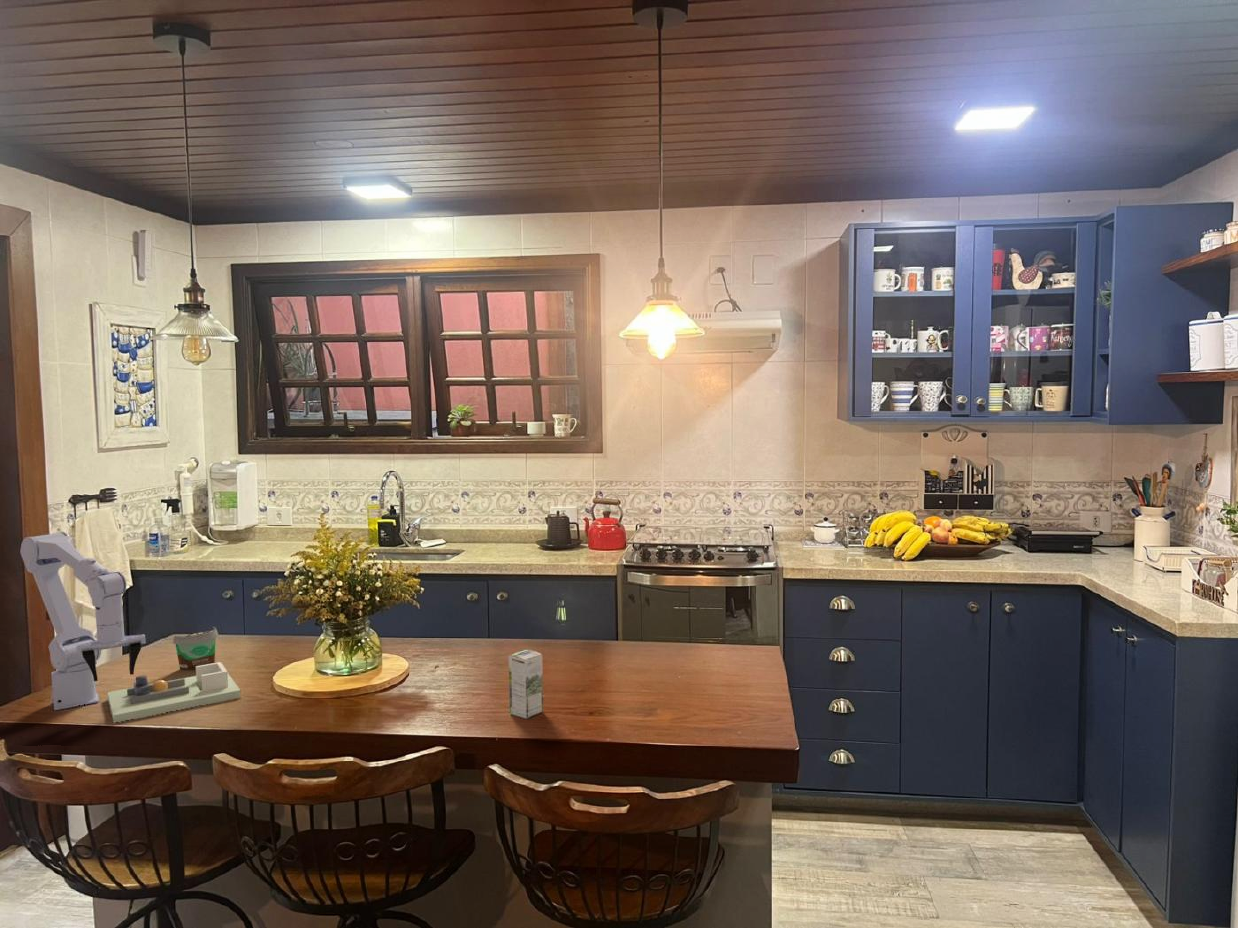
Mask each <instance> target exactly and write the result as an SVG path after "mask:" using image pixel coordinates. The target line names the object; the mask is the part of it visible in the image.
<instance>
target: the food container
mask: <svg viewBox="0 0 1238 928" xmlns="http://www.w3.org/2000/svg"><path fill="white" fill-rule="evenodd" d="M212 627H213V628H212V629H210V630H207V631H200V632H194V633H190V634H188V635H186V636H179V635H178V636H176V635H174V637H173V639H172V644H174V645H175V649H176V654H177V660H178V665H179V670H180V671H196V666H201V665H206V664H212V663H216V662H215V660H216V642H217V641H216V638H218V636H219V632H218V630H217V628H216V627H215V626H212Z"/></svg>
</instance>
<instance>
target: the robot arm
mask: <svg viewBox="0 0 1238 928" xmlns="http://www.w3.org/2000/svg"><path fill="white" fill-rule="evenodd" d="M19 552H20V555H21V559H22V561H23V564H24V566H25V568H26V570H27V572H28V573H31V574H32V575H33V576H32V577H33V578H34V581H35V583H36V586H37V589H38V590H39V593H40V596H41V599H42V601H43V603H44V605H45V609H46V611H47V614H48V616H49V619H50V623H51V625H52V626H53V628H54V631H55V634H56V635H55V636H54V638H53V639H52V640H51V642H50V643H49V645H48V651H49V655H50V657H49V658H50V659H49V660H50V663H51V665H52V667H53V668H54V669H55V671H51V686H52V693H51V694H50V696H51V702H53V710H54V711H57V710H58V711H59V710H63V709H69V708H73V707H74V708H75V707H78V706H79V705H80V706H84V704H85V705H89V704H95V703H99V702H100V699H99V695H98V692H97V691H96V689H97V688H96V682H97V681H98V674H97V668H96V665H97V664H98V663H97V661H98V660H99V659H100V658H101V655H102V650H108V649H115V648H121V647H128V657H129V664H128V665H129V666H128V669H129V674H130V676H133V675H134V673H135V667H136V662H137V660H138V656H139V654H140V652H141V650H142V645H144V644H146V635H145V634H144V633H143V634H136V635H134V634H133V635H125V625H124V612H123V610H124V609H123V596H122V595H124V594H125V593H126V590H127V580H126V578H125V576H124V575H123V574H122V573H121V572H120V571H110V570H108V569H107V568H106V567H104V566H103V565H102V564H101V563H99V561H97V560H96V559H95V558H93V557H92V558H91V557H87V558H86V557H85V556H84V555H83V554H81V552H80V551H79V550H78V549H76V547H75V546H74V540H73V537H72V536H70V535H69V533H67V532H66V531H60V532H55V533H50V534H49V533H48V534H42V535H35V536H26V537H24V538H23V540H22V542H21V546H20V551H19ZM65 565H66V566H68V567H69V568H71V569H72V570H73V572H72V573H73V576H74V578H76V579H77V580H78V581H80V582H81V583H82V584H83V585H84V586H86V587H87V591H88V594H89V596H90V599H91V604H92V607H94V611H95V623H96V624H95V625H96V637H97V638H96V637H95V635H94V634H93V631H92V630H89V629H86V628H84V627H81V626H80V624H79V622H78V619H77V617H76V614H75V612H74V610H73V607H72V606H73V605H72V604H71V602H70V599H69V597H68V595H67V592H66V589H65V586H64V584H63V582H62V579H61V577H60V574H59V570H60V569H61V568H62V567H64V566H65Z"/></svg>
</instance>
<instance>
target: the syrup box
mask: <svg viewBox="0 0 1238 928" xmlns="http://www.w3.org/2000/svg"><path fill="white" fill-rule="evenodd" d="M543 674H544V673H543V654H542V653H540V652H538V651H535V650H531V649H524V650H522V651H518V652H514V653H513V654H509V655H508V680H509V682H508V683H509V713H510V715H513V716H516V717H518V718H522V719H526V720H527V719H530V718H531V717H534V716H537V715H538V714H541V713H543V712H544V692H543V691H544V688H543V685H544V684H543V680H544V679H543V678H544V677H543Z"/></svg>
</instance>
